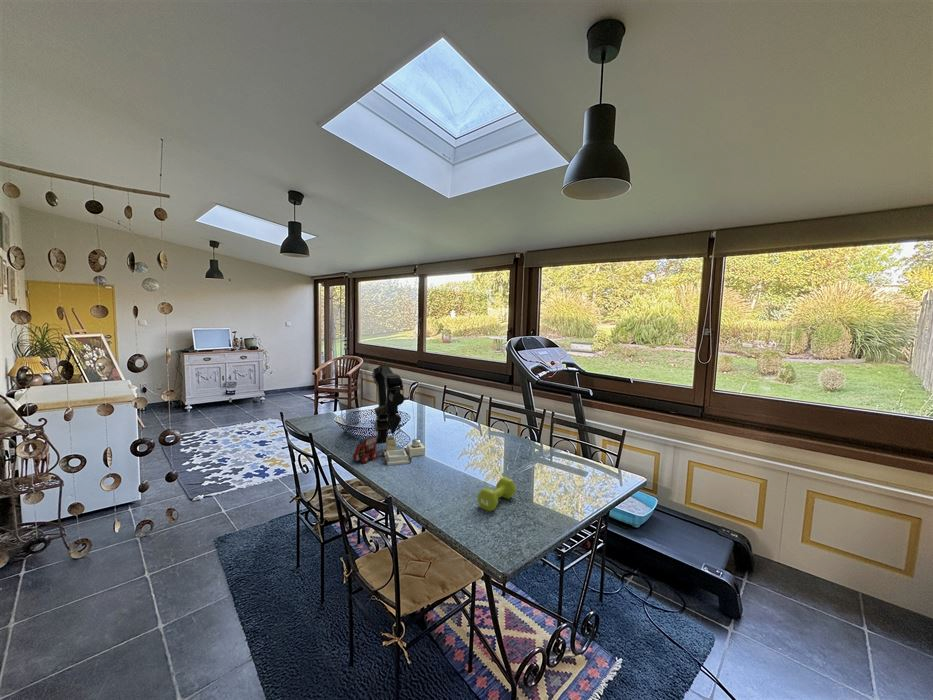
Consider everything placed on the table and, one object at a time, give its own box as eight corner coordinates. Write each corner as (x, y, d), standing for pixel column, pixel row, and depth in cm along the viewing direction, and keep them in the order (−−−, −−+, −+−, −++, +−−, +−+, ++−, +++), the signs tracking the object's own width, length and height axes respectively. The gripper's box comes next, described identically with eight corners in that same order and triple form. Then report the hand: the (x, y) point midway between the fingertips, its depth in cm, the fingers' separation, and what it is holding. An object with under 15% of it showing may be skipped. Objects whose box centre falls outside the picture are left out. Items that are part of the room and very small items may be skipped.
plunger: (411, 446, 177) (411, 439, 177) (418, 445, 178) (419, 438, 178) (412, 448, 174) (413, 441, 173) (420, 448, 175) (420, 441, 175)
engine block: (385, 449, 179) (386, 436, 178) (393, 449, 180) (394, 436, 180) (387, 452, 175) (387, 439, 175) (395, 451, 177) (395, 438, 176)
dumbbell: (493, 515, 123) (494, 495, 122) (474, 507, 127) (475, 487, 127) (517, 498, 135) (518, 480, 135) (499, 491, 140) (500, 474, 140)
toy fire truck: (349, 462, 162) (349, 439, 161) (370, 454, 172) (370, 433, 171) (359, 466, 158) (360, 443, 157) (380, 457, 168) (381, 436, 167)
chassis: (381, 454, 172) (381, 448, 172) (405, 452, 177) (406, 446, 176) (385, 465, 159) (385, 459, 159) (411, 463, 163) (411, 456, 163)
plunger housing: (406, 451, 178) (407, 444, 178) (421, 449, 181) (421, 443, 181) (409, 456, 172) (410, 449, 171) (424, 455, 174) (425, 448, 174)
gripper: (373, 396, 182) (372, 426, 183) (377, 405, 164) (376, 438, 166) (395, 396, 186) (394, 425, 187) (401, 404, 168) (400, 436, 170)
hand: (391, 431), depth 177 cm, fingers open, 9 cm apart
